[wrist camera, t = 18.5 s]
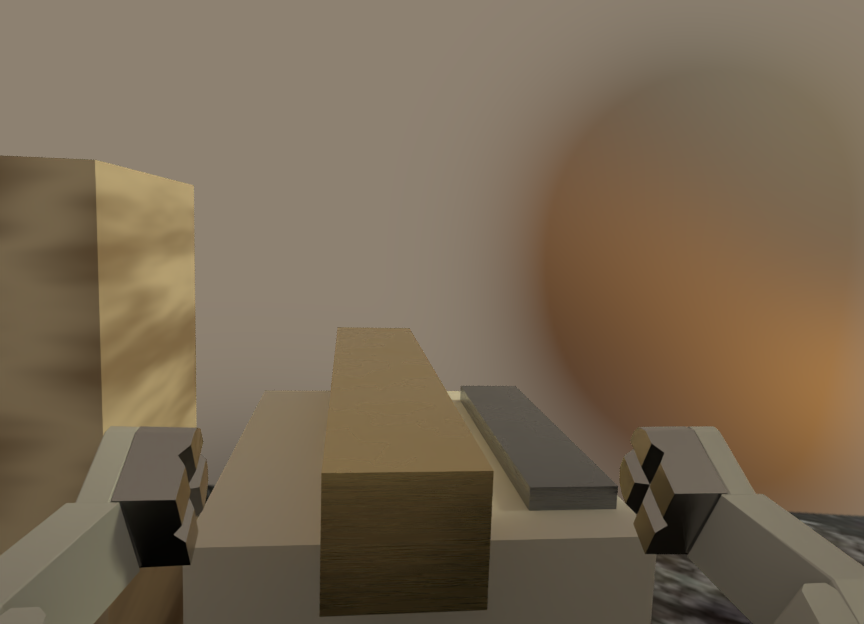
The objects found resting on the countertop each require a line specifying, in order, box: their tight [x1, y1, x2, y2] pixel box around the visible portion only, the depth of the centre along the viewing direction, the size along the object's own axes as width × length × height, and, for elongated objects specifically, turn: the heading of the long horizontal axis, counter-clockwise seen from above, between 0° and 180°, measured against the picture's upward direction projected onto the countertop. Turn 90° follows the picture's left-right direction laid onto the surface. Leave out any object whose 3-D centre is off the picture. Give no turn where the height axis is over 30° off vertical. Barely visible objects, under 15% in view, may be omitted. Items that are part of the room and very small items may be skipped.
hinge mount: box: [183, 386, 656, 624], centre depth 29 cm, size 14×18×16 cm
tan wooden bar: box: [319, 327, 494, 617], centre depth 26 cm, size 4×22×4 cm, turn 7°
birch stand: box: [0, 156, 197, 624], centre depth 30 cm, size 10×14×26 cm
